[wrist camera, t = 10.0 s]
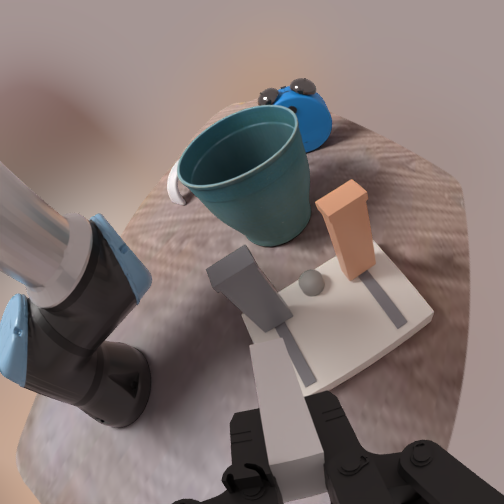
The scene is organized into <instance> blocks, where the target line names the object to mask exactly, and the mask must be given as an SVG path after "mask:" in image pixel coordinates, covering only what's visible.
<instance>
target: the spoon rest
mask: <svg viewBox="0 0 504 504" xmlns="http://www.w3.org/2000/svg"><path fill="white" fill-rule="evenodd" d="M179 160H180V159H179ZM179 160H178V161H177V162H176V163H175V165H174V166H173V168H172V170H171V172H170V174H169V177H168V182H167V190H168V194H169V197H170V199H171V201H172V202H173V203H176V204H180V205H185V204H186V202H185V200H184V199H183V197H182V196H181V194H180V192H179V189H178V179H179V178H178V176H177V166H178V162H179Z"/></svg>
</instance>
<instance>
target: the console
mask: <svg viewBox="0 0 504 504" xmlns="http://www.w3.org/2000/svg"><path fill="white" fill-rule="evenodd" d="M373 246H374V253H375V260H376V264H375V265H373V266H372V267H371V268H369V269H368V270H366V271H365V272H363V273H362V274H360V275H359V276H357V277H356V278H354V279H353V280H351V281H349V280H348V278H347V277H346V276H345V274H344V273H343V272H342V270H341V267H340V264H339V261H338V258H337V255H336V256H335V257H333V258H332V259H330V260H329V261H327V262H325V263H324V264H322V265H321V266H319V267H318V268H316V269H315V270H307V271H305V272H304V273H303V274H302V275H301V276H300V278H299V280H297V281H296V282H294V283H292V284H291V285H289V286H288V287H286V288H284V289H283V290H281V291H279V292H278V293H279V294H280V296H281V297H282V298H283V300H284V301H285V302H286V304H287V305H288V307H289V309H290V311H291V313H292V314H293V317H291V318H290V319H288V320H286V321H285V322H283V323H281V324H280V325H278V326H276V327H275V328H273V329H271V330H270V331H268V332H266V333H265V332H264V331H263V330H262V329H260V328H259V327H258V326H257V325H256V324H255V323H254V322H253V321H252V320H251V319H250V318H248V317H247V316H246V315H245V314H244V313H243V314H241V316H242V318H243V321H244V323H245V325H246V327H247V330H248V332H249V334H250V336H251V339H252V341H253V343H254V344H257V343H261V342H266V341H270V340H274V339H278V338H283V340H284V343H285V346H286V349H287V352H288V354H289V357H290V360H291V363H292V365H293V368H294V371H295V374H296V377H297V379H298V382H299V385H300V388H301V390H302V393H303V396H304V397H305V396H309V395H312V394H316V393H319V392H323V391H326V390H328V391H329V390H331V389H333V388H334V387H336V386H338V385H339V384H341V383H343V382H344V381H346V380H348V379H349V378H351V377H353V376H354V375H356V374H357V373H359V372H361V371H362V370H364V369H365V368H367V367H368V366H370V365H371V364H373V363H374V362H376V361H377V360H379V359H380V358H382V357H383V356H385V355H386V354H388V353H389V352H391V351H392V350H393V349H395V348H396V347H398V346H399V345H400V344H402V343H403V342H405V341H406V340H407V339H409V338H410V337H411V336H413V335H414V334H415V333H417V332H418V331H419V330H421V329H422V328H423V327H424V326H426V325H427V324H428V323H429V322H431V320H432V317H433V314H434V311H433V309H432V308H431V307H430V306H429V304H428V303H427V302H426V301H425V300H424V298H423V297H422V296H421V295H420V293H419V292H418V291H417V290H416V289H415V287H414V286H413V285H412V284H411V283H410V281H409V280H408V279H407V278H406V277H405V275H404V274H403V273H402V272H401V271H400V270H399V269H398V267H397V266H396V265H395V264H394V263H393V262H392V261H391V259H390V258H389V257H388V256H387V255H386V254H385V253H384V252H383V250H382V249H381V248H380V247H379V246H378V245H377V244H376V243H375V242H374V241H373Z"/></svg>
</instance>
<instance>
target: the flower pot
mask: <svg viewBox="0 0 504 504" xmlns="http://www.w3.org/2000/svg"><path fill="white" fill-rule="evenodd" d="M177 176H178V178H179V180H180V181H181V183H182V184H183V185H185V186H186V187H188V188H189V189H190V190H191V191H192V193H193V194H194V195H195V196H197V197H198V198H199V199H200V200H201V202H202V203H203V204H204V205H205V206H206V207H207V208H208V209H209V210H210V211H211V212H212V213H213V214H214V215H215V216H216V217H217V218H219V219H220V220H221V221H222V222H224V223H225V224H227V225H228V226H230V227H232V228H234V229H235V230H237V231H239V232H241V233H242V234H244V235H246V237H247V238H248V239H249V240H250V241H251V242H253V243H254V244H257V245H260V246H276V245H280V244H283V243H285V242H288V241H290V240H291V239H293V238H295V237H296V236H297V235H298V234H299V233H300V232H301V231H302V230H303V229H304V228H305V227H306V225H307V223H308V222H309V219H310V216H311V207H310V203H309V190H310V171H309V164H308V160H307V156H306V152H305V148H304V145H303V142H302V137H301V133H300V130H299V122H298V119H297V116H296V114H295V113H294V112H293V111H292V110H290V109H288V108H286V107H283V106H279V105H261V106H255V107H251V108H247V109H244V110H241V111H238V112H236V113H233V114H231V115H229V116H227V117H225V118H223V119H221V120H219V121H217V122H216V123H214V124H213V125H211V126H210V127H208V128H207V129H206V130H204V131H203V132H202V133H201V134H199V135H198V136H197V137H196V138H195V139H194V140H193V141H192V142H191V143H190V144H189V145H188V147H187V148H186V149H185V151H184V152H183V154H182V156H181V158H180V160H179V162H178V166H177Z"/></svg>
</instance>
